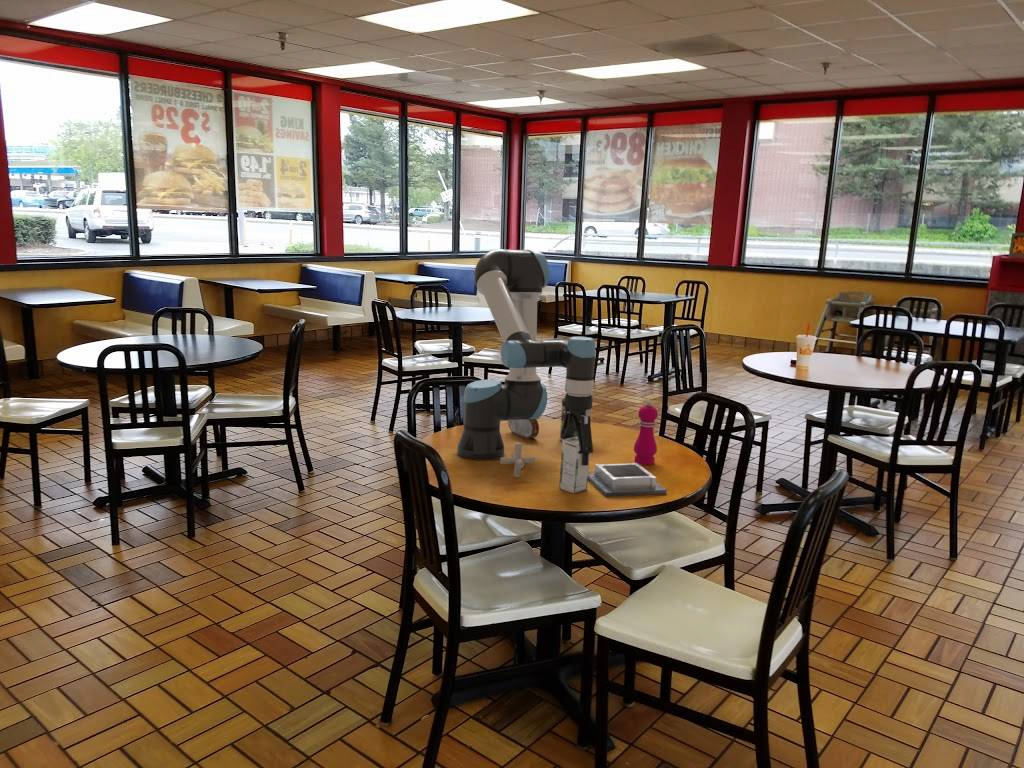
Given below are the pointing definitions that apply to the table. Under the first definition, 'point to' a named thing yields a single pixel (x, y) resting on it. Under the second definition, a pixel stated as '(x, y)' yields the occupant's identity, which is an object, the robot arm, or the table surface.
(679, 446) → the table surface
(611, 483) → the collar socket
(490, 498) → the table surface
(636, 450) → the pepper mill
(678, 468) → the table surface
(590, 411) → the coffee can
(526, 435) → the tin
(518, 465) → the pipe connector
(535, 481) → the table surface
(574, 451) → the syrup box
